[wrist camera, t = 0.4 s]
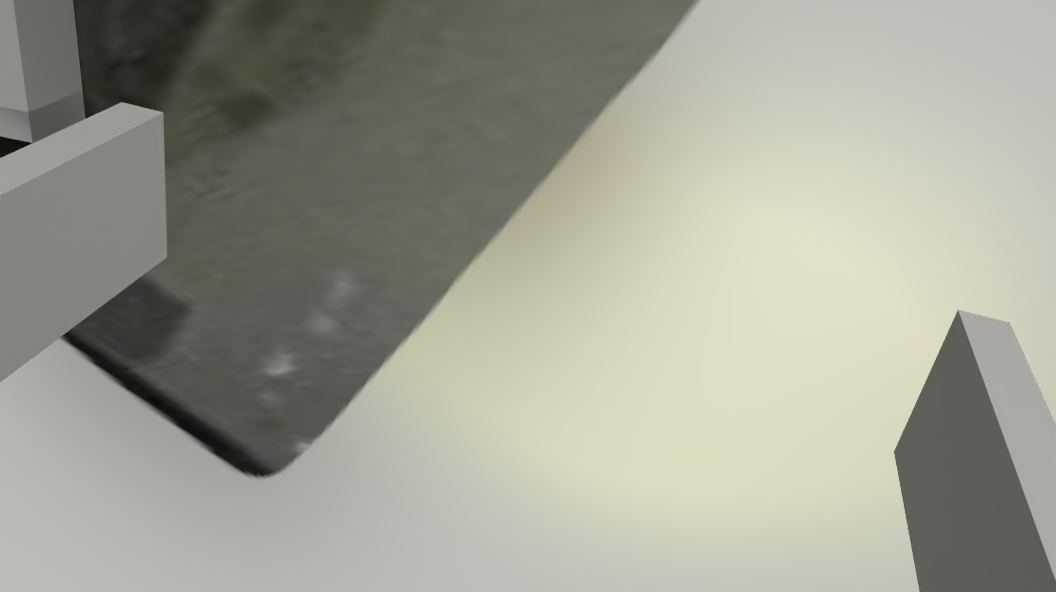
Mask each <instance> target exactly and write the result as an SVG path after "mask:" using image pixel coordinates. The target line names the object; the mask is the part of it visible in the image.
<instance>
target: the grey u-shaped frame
mask: <svg viewBox="0 0 1056 592" xmlns="http://www.w3.org/2000/svg"><path fill="white" fill-rule="evenodd" d="M84 119H85V109H84V100H83V90H82V81H81V71H80V62H79V52H78V43H77V33H76V24H75V14H74V5H73V0H0V136H2V137H7V138H11V139H16V140H21V141H25V142H30V143H33V142H36V141H38V140H40V139H42V138H45V137H47V136H49V135H51V134H53V133H56V132H58V131H60V130H62V129H65V128H67V127H69V126H71V125H73V124H76V123H78V122H80V121H82V120H84Z"/></svg>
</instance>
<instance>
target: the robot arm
mask: <svg viewBox="0 0 1056 592" xmlns="http://www.w3.org/2000/svg"><path fill="white" fill-rule="evenodd" d="M166 257H167V233H166V195H165V157H164V119H163V112H159V111H155V110H151V109H147V108H143V107H139V106H135V105H131V104H127V103H123V102H121V103H119V104H117V105H115V106H113V107H110V108H108V109H106V110H104V111H102V112H100V113H97V114H95V115H93V116H91V117H89V118H87V119H84V120H82V121H80V122H78V123H76V124H74V125H71V126H69V127H67V128H65V129H63V130H61V131H58V132H56V133H54V134H52V135H50V136H48V137H45V138H43V139H41V140H39V141H37V142H35V143H32V144H30V145H28V146H26V147H24V148H21V149H19V150H17V151H15V152H13V153H11V154H8V155H6V156H4V157H2V158H0V382H1V381H2V380H3V379H5V378H6V377H8V376H9V375H10V374H12V373H13V372H14V371H16V370H17V369H18V368H20V367H21V366H22V365H24V364H25V363H26V362H28V361H29V360H30V359H32V358H33V357H34V356H36V355H37V354H38V353H40V352H41V351H42V350H44V349H45V348H46V347H48V346H49V345H50V344H52V343H53V342H54V341H56V340H57V339H58V338H60V337H61V336H62V335H64V334H65V333H66V332H68V331H69V330H70V329H72V328H73V327H74V326H76V325H77V324H78V323H80V322H81V321H82V320H84V319H85V318H86V317H88V316H89V315H90V314H92V313H93V312H94V311H96V310H97V309H98V308H100V307H101V306H102V305H104V304H105V303H106V302H108V301H109V300H110V299H112V298H113V297H114V296H116V295H117V294H118V293H120V292H121V291H122V290H124V289H125V288H126V287H128V286H129V285H130V284H132V283H133V282H134V281H136V280H137V279H138V278H140V277H141V276H142V275H144V274H145V273H146V272H148V271H149V270H150V269H152V268H153V267H154V266H156V265H157V264H158V263H160V262H161V261H162V260H164V259H165V258H166ZM894 454H895V459H896V465H897V470H898V475H899V481H900V486H901V492H902V497H903V502H904V508H905V513H906V519H907V524H908V530H909V535H910V541H911V547H912V552H913V557H914V563H915V568H916V574H917V579H918V584H919V590H920V592H1056V424H1055V422H1054V419H1053V417H1052V415H1051V413H1050V411H1049V408H1048V406H1047V404H1046V402H1045V400H1044V397H1043V395H1042V393H1041V391H1040V388H1039V386H1038V384H1037V382H1036V380H1035V378H1034V375H1033V373H1032V371H1031V369H1030V366H1029V364H1028V362H1027V360H1026V358H1025V355H1024V353H1023V351H1022V348H1021V346H1020V344H1019V342H1018V340H1017V338H1016V335H1015V333H1014V331H1013V329H1012V326H1011V324H1010V323H1009V322H1005V321H1001V320H997V319H993V318H988V317H985V316H981V315H976V314H973V313H969V312H965V311H961V310H958V312H957V314H956V316H955V318H954V320H953V322H952V325H951V327H950V329H949V331H948V334H947V336H946V338H945V340H944V342H943V345H942V347H941V349H940V351H939V354H938V356H937V358H936V360H935V362H934V365H933V367H932V369H931V371H930V373H929V376H928V378H927V380H926V382H925V384H924V387H923V389H922V391H921V393H920V395H919V398H918V400H917V402H916V404H915V407H914V409H913V411H912V414H911V416H910V418H909V420H908V422H907V425H906V427H905V429H904V431H903V433H902V435H901V438H900V440H899V442H898V444H897V446H896V449H895V451H894Z"/></svg>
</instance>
